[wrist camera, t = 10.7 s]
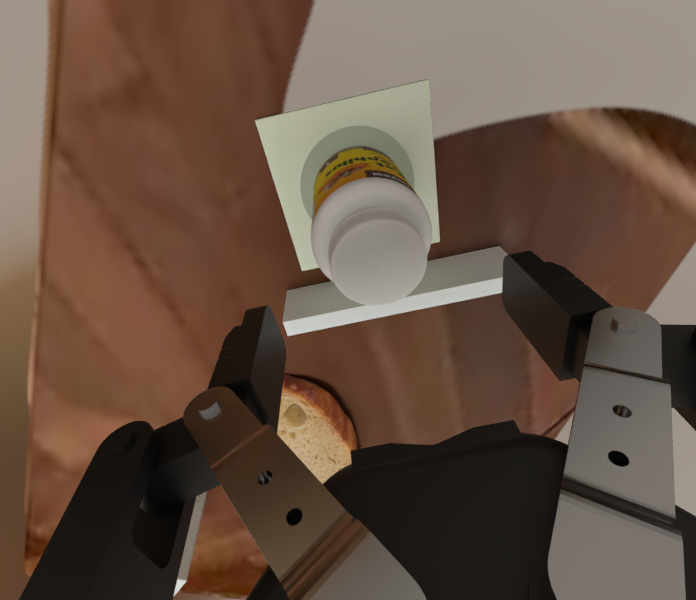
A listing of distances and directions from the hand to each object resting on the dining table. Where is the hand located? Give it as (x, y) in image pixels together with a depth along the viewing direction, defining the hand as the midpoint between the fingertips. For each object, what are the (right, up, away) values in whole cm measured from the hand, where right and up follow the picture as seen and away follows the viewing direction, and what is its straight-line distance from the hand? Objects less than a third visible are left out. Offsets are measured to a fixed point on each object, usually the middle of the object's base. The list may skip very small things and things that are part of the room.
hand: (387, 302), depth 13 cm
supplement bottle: (-1, +7, +11) cm, 13 cm away
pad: (-1, +7, +11) cm, 13 cm away
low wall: (+2, +2, +15) cm, 15 cm away
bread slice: (-5, -15, +26) cm, 30 cm away
